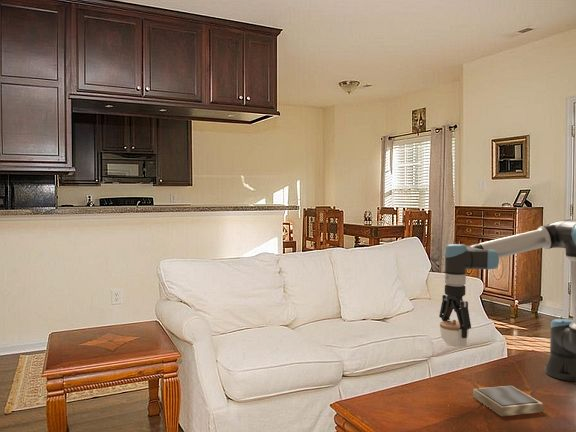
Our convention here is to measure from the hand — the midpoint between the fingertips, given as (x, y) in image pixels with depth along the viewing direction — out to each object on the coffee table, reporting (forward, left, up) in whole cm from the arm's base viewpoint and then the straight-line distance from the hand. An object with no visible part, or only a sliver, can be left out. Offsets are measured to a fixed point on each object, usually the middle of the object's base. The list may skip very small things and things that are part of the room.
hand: (454, 341), depth 186 cm
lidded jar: (0, 0, -1) cm, 1 cm away
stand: (-10, +18, -18) cm, 27 cm away
